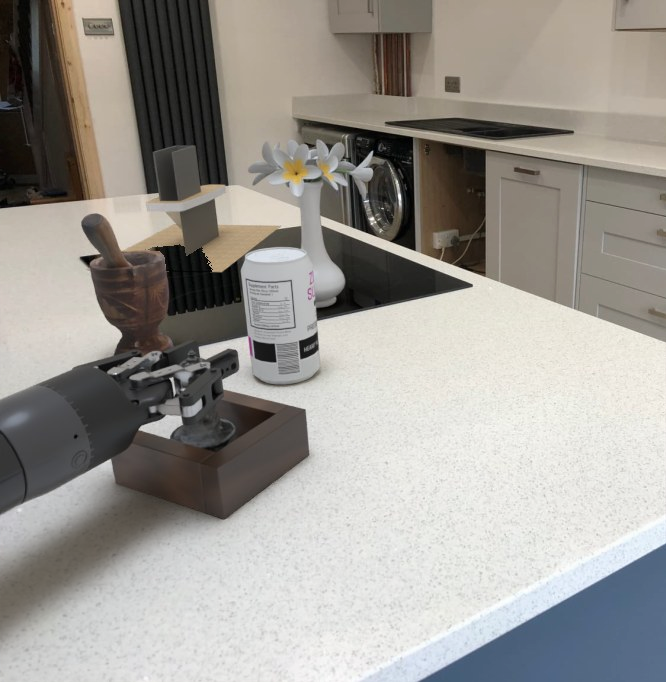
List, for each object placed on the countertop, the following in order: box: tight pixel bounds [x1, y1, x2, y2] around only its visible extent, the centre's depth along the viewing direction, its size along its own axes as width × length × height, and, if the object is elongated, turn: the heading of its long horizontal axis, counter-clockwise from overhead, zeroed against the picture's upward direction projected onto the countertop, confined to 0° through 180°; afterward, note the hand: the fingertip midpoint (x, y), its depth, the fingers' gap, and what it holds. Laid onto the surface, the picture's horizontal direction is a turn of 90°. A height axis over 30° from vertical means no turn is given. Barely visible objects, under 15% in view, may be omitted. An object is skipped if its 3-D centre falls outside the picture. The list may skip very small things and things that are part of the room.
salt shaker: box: [169, 349, 236, 453], centre depth 68 cm, size 6×6×12 cm
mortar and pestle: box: [80, 212, 175, 364], centre depth 90 cm, size 12×9×20 cm
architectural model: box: [86, 145, 281, 273], centre depth 147 cm, size 38×25×20 cm, turn 177°
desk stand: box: [110, 388, 310, 520], centre depth 69 cm, size 13×12×5 cm
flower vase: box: [247, 139, 374, 309], centre depth 112 cm, size 13×18×25 cm
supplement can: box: [240, 246, 321, 385], centre depth 88 cm, size 8×8×15 cm
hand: (214, 354), depth 68 cm, fingers open, 4 cm apart
